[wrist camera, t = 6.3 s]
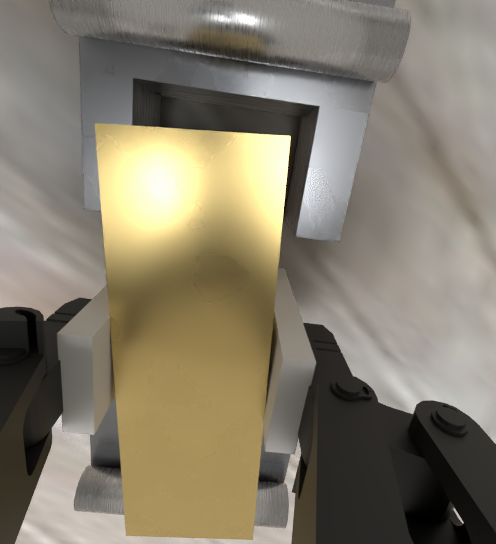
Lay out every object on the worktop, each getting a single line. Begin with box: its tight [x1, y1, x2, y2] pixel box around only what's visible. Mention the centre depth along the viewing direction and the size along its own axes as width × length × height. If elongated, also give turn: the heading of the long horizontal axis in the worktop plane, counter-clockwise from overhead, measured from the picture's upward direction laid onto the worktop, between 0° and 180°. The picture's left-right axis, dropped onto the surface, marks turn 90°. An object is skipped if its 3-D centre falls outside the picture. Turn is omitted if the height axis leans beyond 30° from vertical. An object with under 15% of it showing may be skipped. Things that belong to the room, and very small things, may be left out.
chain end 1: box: [49, 0, 411, 242], centre depth 11 cm, size 7×8×5 cm
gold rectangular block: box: [95, 123, 291, 540], centre depth 12 cm, size 12×4×6 cm, turn 176°
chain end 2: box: [74, 396, 290, 528], centre depth 15 cm, size 7×8×5 cm
